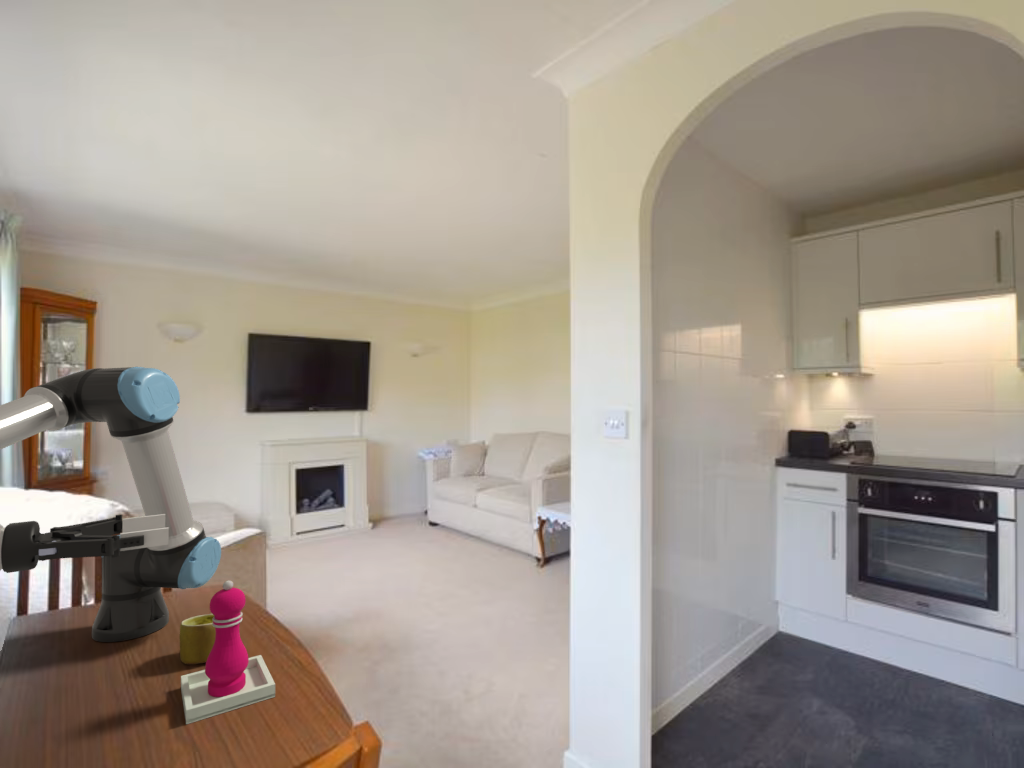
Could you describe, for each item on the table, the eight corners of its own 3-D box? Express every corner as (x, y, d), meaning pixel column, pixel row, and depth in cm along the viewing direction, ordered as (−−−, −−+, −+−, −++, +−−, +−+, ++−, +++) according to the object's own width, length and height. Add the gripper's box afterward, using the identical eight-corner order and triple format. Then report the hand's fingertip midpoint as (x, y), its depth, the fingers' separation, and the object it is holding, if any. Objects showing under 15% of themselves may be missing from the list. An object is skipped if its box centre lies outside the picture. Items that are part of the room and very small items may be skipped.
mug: (209, 663, 106) (204, 611, 109) (167, 675, 108) (164, 624, 111) (253, 648, 117) (247, 602, 120) (215, 659, 119) (210, 613, 122)
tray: (180, 688, 100) (180, 675, 100) (260, 666, 108) (261, 654, 108) (186, 724, 89) (186, 710, 89) (275, 696, 97) (275, 684, 97)
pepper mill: (202, 702, 94) (203, 589, 95) (207, 683, 101) (208, 577, 102) (247, 693, 97) (248, 583, 98) (249, 675, 104) (250, 572, 104)
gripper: (18, 554, 92) (163, 535, 104) (-17, 596, 72) (169, 566, 84) (19, 511, 92) (164, 497, 104) (-16, 541, 72) (170, 519, 84)
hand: (167, 528), depth 94 cm, fingers open, 13 cm apart
